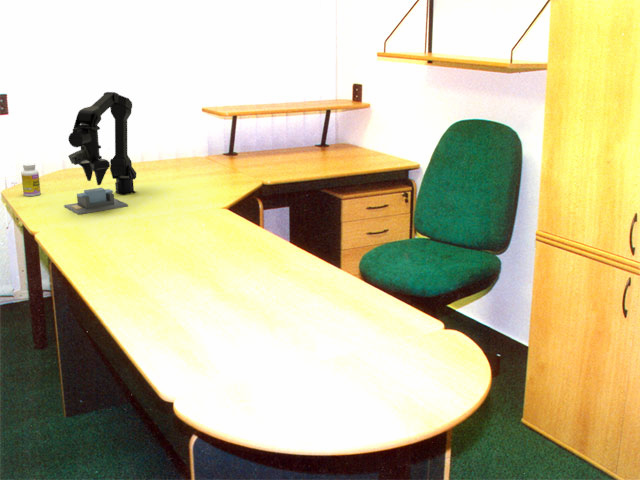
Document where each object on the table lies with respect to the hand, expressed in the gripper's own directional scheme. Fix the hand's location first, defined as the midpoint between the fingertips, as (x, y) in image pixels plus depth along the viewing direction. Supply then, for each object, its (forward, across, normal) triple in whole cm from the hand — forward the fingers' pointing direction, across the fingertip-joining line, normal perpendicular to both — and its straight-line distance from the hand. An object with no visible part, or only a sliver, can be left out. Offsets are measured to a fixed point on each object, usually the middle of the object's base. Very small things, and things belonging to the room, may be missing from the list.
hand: (94, 182), depth 277 cm
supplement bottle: (+10, -34, -13) cm, 38 cm away
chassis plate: (+10, 0, 0) cm, 10 cm away
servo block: (+9, 0, 0) cm, 9 cm away
